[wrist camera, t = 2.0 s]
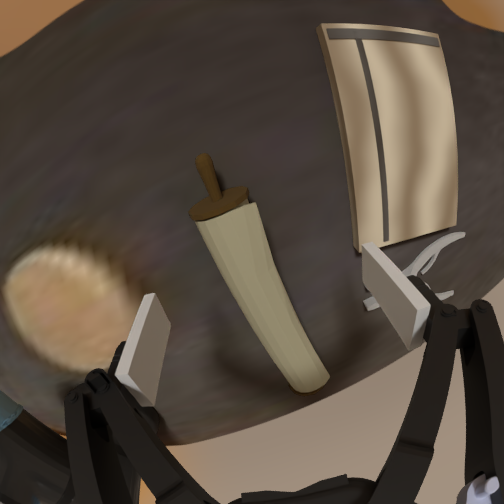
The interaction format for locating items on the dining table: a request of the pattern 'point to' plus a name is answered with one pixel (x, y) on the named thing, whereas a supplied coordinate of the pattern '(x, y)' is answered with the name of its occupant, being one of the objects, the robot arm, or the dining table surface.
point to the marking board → (393, 129)
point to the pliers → (419, 262)
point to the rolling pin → (255, 279)
